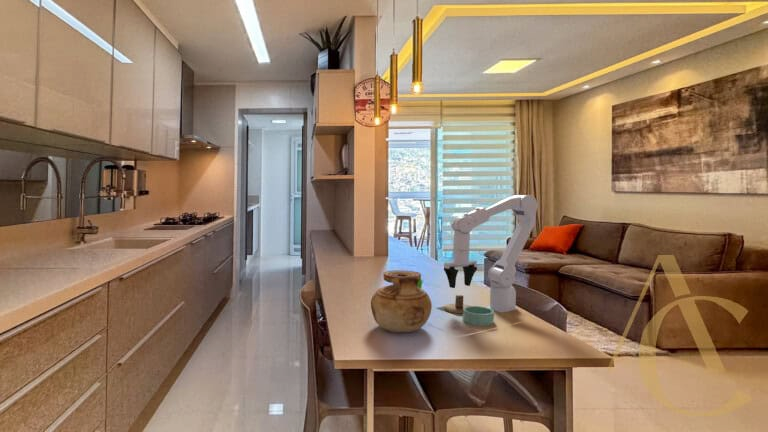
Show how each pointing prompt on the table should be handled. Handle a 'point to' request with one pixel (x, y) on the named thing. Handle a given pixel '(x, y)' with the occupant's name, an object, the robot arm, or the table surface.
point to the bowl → (478, 315)
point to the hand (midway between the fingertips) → (459, 286)
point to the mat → (449, 312)
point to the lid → (456, 306)
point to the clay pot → (401, 303)
